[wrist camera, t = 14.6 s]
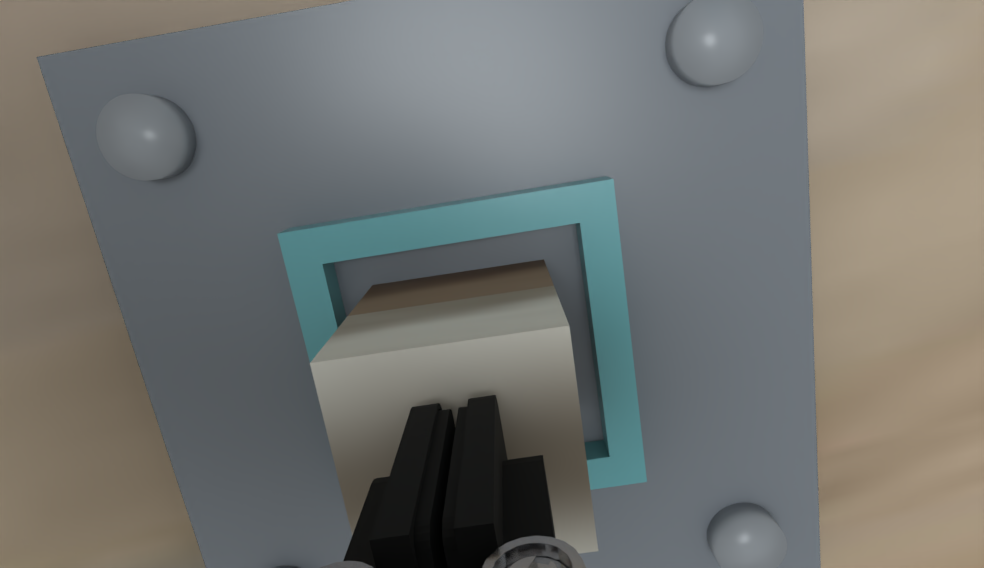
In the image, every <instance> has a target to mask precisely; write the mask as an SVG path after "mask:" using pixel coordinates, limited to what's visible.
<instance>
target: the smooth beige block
mask: <svg viewBox="0 0 984 568" xmlns="http://www.w3.org/2000/svg"><path fill="white" fill-rule="evenodd" d="M310 366H311V370H312V374H313V378H314V382H315V386H316V390H317V394H318V399H319V403H320V407H321V411H322V415H323V419H324V423H325V427H326V431H327V435H328V439H329V443H330V447H331V451H332V455H333V459H334V463H335V467H336V472H337V476H338V480H339V484H340V488H341V492H342V496H343V500H344V504H345V508H346V512H347V516H348V520H349V524H350V528H351V532H352V535H353V533H354V530H355V527H356V524H357V522H358V519H359V516H360V513H361V510H362V508H363V505H364V502H365V499H366V497H367V494H368V491H369V488H370V486H371V483H372V481H373V480H374V479H376V478H381V477H388V476H390V473H391V469H392V466H393V463H394V460H395V457H396V454H397V451H398V447H399V444H400V441H401V438H402V435H403V432H404V428H405V425H406V422H407V419H408V416H409V413H410V410H411V408H412V407H415V406H422V405H429V404H436V403H440V405H441V408H442V410H446V409H451V410H452V413H453V418H454V423H455V428H456V421H457V414H458V408H459V407H466V406H467V404H468V399H470V398H477V397H484V396H491V395H496V398H497V402H498V407H499V413H500V419H501V425H502V430H503V436H504V442H505V448H506V453H507V459H508V460H509V459H516V458H523V457H531V456H538V455H543V459H544V465H545V471H546V478H547V484H548V490H549V497H550V503H551V510H552V516H553V523H554V530H555V536H556V539H559V540H562V541H565V542H566V543H568V544H569V545H571V546H572V547H574V548H575V549H576V550H577V552H578V553H579V554H580V553H588V552H596V551H598V544H597V537H596V529H595V521H594V513H593V505H592V498H591V490H590V482H589V474H588V467H587V459H586V451H585V443H584V435H583V428H582V420H581V412H580V404H579V397H578V389H577V381H576V373H575V365H574V358H573V350H572V342H571V334H570V327H569V323H568V321H567V318H566V316H565V313H564V310H563V308H562V305H561V303H560V300H559V298H558V295H557V292H556V290H555V287H554V285H553V282H552V279H551V277H550V274H549V272H548V269H547V267H546V264H545V261H544V259H543V260H536V261H530V262H523V263H516V264H510V265H503V266H496V267H490V268H483V269H476V270H470V271H463V272H456V273H450V274H443V275H436V276H430V277H423V278H416V279H410V280H403V281H396V282H390V283H383V284H376V285H372V286H371V288H370V289H369V290H368V291H367V293H366V294H365V295H364V296H363V298H362V299H361V300H360V301H359V303H358V304H357V305H356V306H355V308H354V309H353V310H352V311H351V313H350V314H349V315H348V316H347V317H346V319H345V320H344V321H343V322H342V324H341V325H340V326H339V327H338V329H337V330H336V331H335V332H334V334H333V335H332V336H331V337H330V339H329V340H328V341H327V342H326V344H325V345H324V346H323V347H322V349H321V350H320V351H319V352H318V354H317V355H316V356H315V357H314V359H313V360H312V361H311V362H310Z"/></svg>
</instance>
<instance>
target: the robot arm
mask: <svg viewBox="0 0 984 568" xmlns="http://www.w3.org/2000/svg"><path fill="white" fill-rule="evenodd" d="M320 568H586V567H585V564H584V562H583V559H582V558H581V556H580V555H579V553H578V552H577V550H576V549H575V548H574V547H572V546H571V545H569V544H568V543H566V542H565V541H562V540H559V539H556V536H555V530H554V523H553V516H552V510H551V503H550V497H549V490H548V484H547V478H546V471H545V465H544V459H543V455H538V456H531V457H523V458H516V459H509V460H508V459H507V453H506V448H505V442H504V436H503V430H502V425H501V419H500V413H499V407H498V402H497V398H496V395H491V396H484V397H477V398H470V399H468V404H467V406H466V407H459V408H458V414H457V421H456V428H455V423H454V418H453V413H452V410H451V409H446V410H442V408H441V405H440V403H436V404H429V405H422V406H415V407H412V408H411V410H410V413H409V416H408V419H407V422H406V425H405V428H404V432H403V435H402V438H401V441H400V444H399V447H398V451H397V454H396V457H395V460H394V463H393V466H392V469H391V473H390V476H388V477H381V478H376V479H374V480H373V481H372V483H371V486H370V488H369V491H368V494H367V497H366V499H365V502H364V505H363V508H362V510H361V513H360V516H359V519H358V522H357V524H356V527H355V530H354V533H353V535H352V538H351V541H350V544H349V546H348V549H347V552H346V555H345V557H344V560H343V562H335V563H332V564H329V565H326V566H323V567H320Z"/></svg>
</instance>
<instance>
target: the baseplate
mask: <svg viewBox="0 0 984 568" xmlns="http://www.w3.org/2000/svg"><path fill="white" fill-rule="evenodd" d="M37 60H38V63H39V66H40V69H41V72H42V75H43V78H44V81H45V84H46V87H47V90H48V93H49V96H50V99H51V102H52V105H53V108H54V111H55V114H56V117H57V120H58V123H59V126H60V129H61V132H62V135H63V138H64V141H65V144H66V147H67V150H68V153H69V156H70V159H71V162H72V165H73V168H74V171H75V174H76V177H77V180H78V183H79V186H80V189H81V192H82V195H83V198H84V201H85V204H86V207H87V210H88V213H89V216H90V219H91V222H92V225H93V228H94V231H95V234H96V237H97V240H98V244H99V247H100V250H101V253H102V256H103V259H104V262H105V265H106V268H107V271H108V274H109V277H110V280H111V283H112V286H113V289H114V292H115V295H116V298H117V301H118V304H119V307H120V310H121V313H122V316H123V319H124V322H125V325H126V328H127V331H128V334H129V337H130V340H131V343H132V346H133V349H134V352H135V355H136V358H137V361H138V364H139V367H140V370H141V373H142V376H143V379H144V382H145V385H146V388H147V391H148V394H149V397H150V400H151V403H152V406H153V409H154V412H155V415H156V418H157V421H158V424H159V427H160V430H161V433H162V436H163V439H164V442H165V445H166V449H167V452H168V455H169V458H170V461H171V464H172V467H173V470H174V473H175V476H176V479H177V482H178V485H179V488H180V491H181V494H182V497H183V500H184V503H185V506H186V509H187V512H188V515H189V518H190V521H191V524H192V527H193V530H194V533H195V536H196V539H197V542H198V545H199V548H200V551H201V554H202V557H203V560H204V563H205V566H206V568H320V567H323V566H326V565H329V564H332V563H335V562H343V560H344V557H345V555H346V552H347V549H348V546H349V544H350V541H351V538H352V532H351V528H350V524H349V520H348V516H347V512H346V508H345V504H344V500H343V496H342V492H341V488H340V484H339V480H338V476H337V472H336V467H335V463H334V459H333V455H332V451H331V447H330V443H329V439H328V435H327V431H326V427H325V423H324V419H323V415H322V411H321V407H320V403H319V399H318V394H317V390H316V386H315V382H314V378H313V374H312V370H311V366H310V362H311V361H312V360H313V359H314V357H315V356H316V355H317V354H318V352H319V351H320V350H321V349H322V347H323V346H324V345H325V344H326V342H327V341H328V340H329V339H330V337H331V336H332V335H333V334H334V332H335V331H336V330H337V329H338V327H339V326H340V325H341V324H342V322H343V321H344V320H345V319H346V317H347V316H348V315H349V314H350V313H351V311H352V310H353V309H354V308H355V306H356V305H357V304H358V303H359V301H360V300H361V299H362V298H363V296H364V295H365V294H366V293H367V291H368V290H369V289H370V288H371V286H372V285H376V284H383V283H390V282H396V281H403V280H410V279H416V278H423V277H430V276H436V275H443V274H450V273H456V272H463V271H470V270H476V269H483V268H490V267H496V266H503V265H510V264H516V263H523V262H530V261H536V260H543V259H544V261H545V264H546V267H547V269H548V272H549V274H550V277H551V279H552V282H553V285H554V287H555V290H556V292H557V295H558V298H559V300H560V303H561V305H562V308H563V310H564V313H565V316H566V318H567V321H568V323H569V327H570V334H571V342H572V350H573V358H574V365H575V373H576V381H577V389H578V397H579V404H580V412H581V420H582V428H583V435H584V443H585V451H586V459H587V467H588V474H589V482H590V490H591V498H592V505H593V513H594V521H595V529H596V537H597V544H598V551H596V552H588V553H580V554H579V555H580V556H581V558H582V559H583V562H584V564H585V567H586V568H820V536H819V503H818V469H817V436H816V403H815V370H814V337H813V304H812V271H811V238H810V204H809V171H808V138H807V105H806V72H805V39H804V6H803V0H351V1H346V2H340V3H335V4H329V5H324V6H318V7H312V8H307V9H301V10H296V11H290V12H285V13H279V14H274V15H268V16H262V17H257V18H251V19H246V20H240V21H235V22H229V23H223V24H218V25H212V26H207V27H201V28H196V29H190V30H185V31H179V32H173V33H168V34H162V35H157V36H151V37H146V38H140V39H135V40H129V41H123V42H118V43H112V44H107V45H101V46H96V47H90V48H85V49H79V50H73V51H68V52H62V53H57V54H51V55H46V56H40V57H37Z"/></svg>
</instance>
